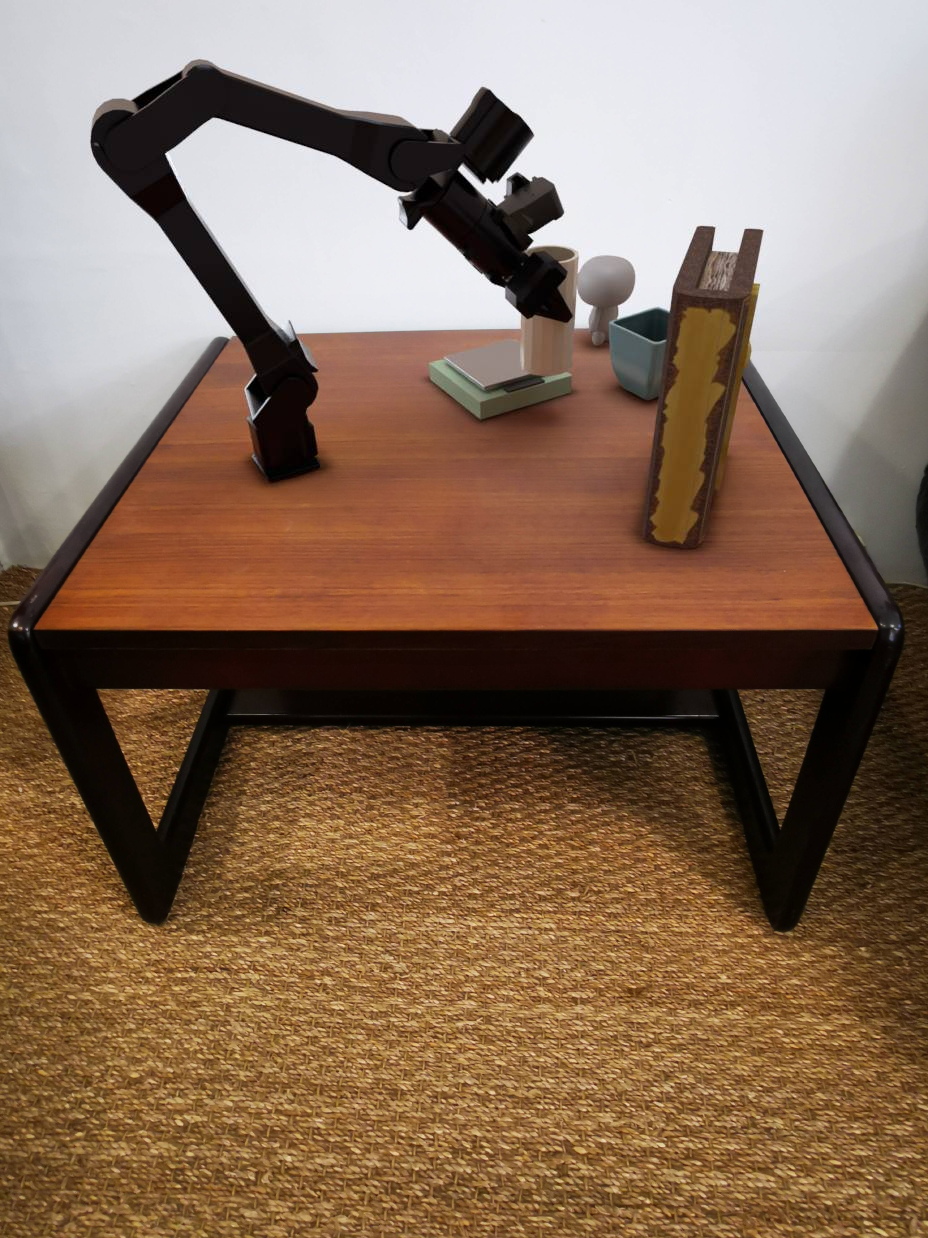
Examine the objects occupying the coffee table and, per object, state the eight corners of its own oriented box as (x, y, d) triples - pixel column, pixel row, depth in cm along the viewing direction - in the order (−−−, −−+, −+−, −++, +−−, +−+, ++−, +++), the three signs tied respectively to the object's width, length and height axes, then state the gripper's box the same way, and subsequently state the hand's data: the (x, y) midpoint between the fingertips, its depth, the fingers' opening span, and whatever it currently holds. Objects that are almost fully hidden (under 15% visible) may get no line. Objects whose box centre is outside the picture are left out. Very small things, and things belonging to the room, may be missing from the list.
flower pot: (696, 392, 109) (707, 325, 103) (647, 411, 105) (656, 343, 99) (649, 370, 115) (657, 305, 109) (601, 387, 111) (607, 321, 105)
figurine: (593, 328, 126) (599, 245, 118) (637, 339, 123) (646, 254, 115) (564, 346, 122) (568, 261, 114) (609, 358, 118) (616, 271, 110)
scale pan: (484, 390, 105) (484, 386, 104) (443, 360, 112) (443, 356, 112) (556, 370, 109) (556, 366, 108) (512, 342, 116) (512, 337, 116)
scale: (480, 419, 105) (479, 399, 103) (429, 379, 115) (428, 360, 113) (571, 392, 110) (572, 372, 108) (515, 356, 120) (515, 337, 118)
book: (712, 553, 82) (763, 301, 66) (627, 539, 85) (656, 292, 68) (731, 446, 98) (777, 221, 82) (659, 437, 100) (689, 216, 84)
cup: (560, 379, 98) (566, 265, 89) (512, 370, 100) (513, 259, 91) (579, 358, 102) (586, 248, 93) (532, 350, 104) (534, 242, 96)
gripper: (552, 174, 78) (645, 278, 88) (488, 135, 92) (574, 229, 101) (475, 271, 82) (572, 361, 91) (424, 220, 95) (513, 303, 105)
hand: (558, 309), depth 97 cm, fingers closed on cup, 6 cm apart
